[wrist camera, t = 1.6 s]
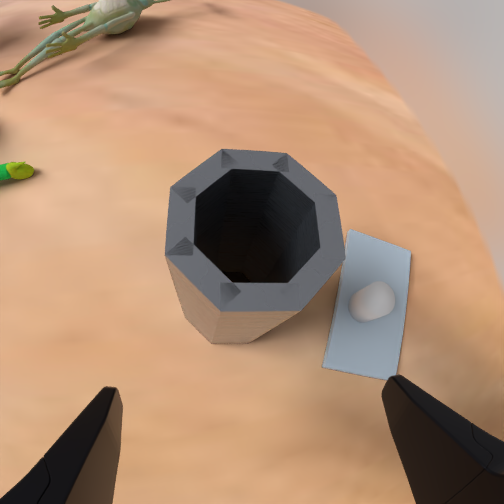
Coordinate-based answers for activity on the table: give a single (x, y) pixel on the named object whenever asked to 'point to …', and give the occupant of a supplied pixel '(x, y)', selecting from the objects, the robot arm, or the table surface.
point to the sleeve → (250, 242)
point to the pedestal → (369, 308)
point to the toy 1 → (15, 170)
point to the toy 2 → (97, 22)
